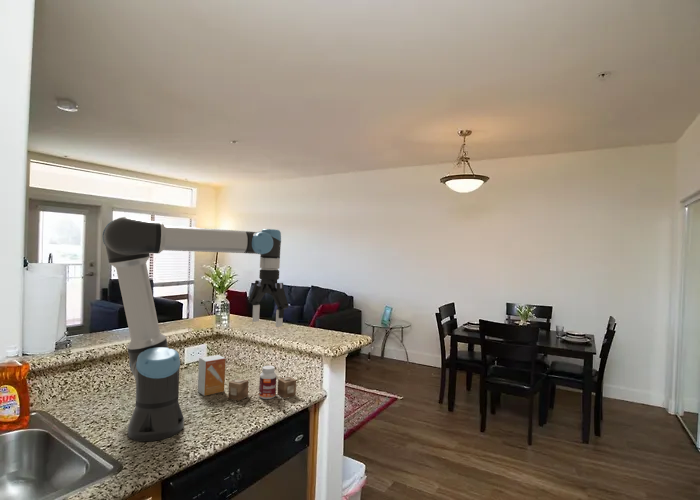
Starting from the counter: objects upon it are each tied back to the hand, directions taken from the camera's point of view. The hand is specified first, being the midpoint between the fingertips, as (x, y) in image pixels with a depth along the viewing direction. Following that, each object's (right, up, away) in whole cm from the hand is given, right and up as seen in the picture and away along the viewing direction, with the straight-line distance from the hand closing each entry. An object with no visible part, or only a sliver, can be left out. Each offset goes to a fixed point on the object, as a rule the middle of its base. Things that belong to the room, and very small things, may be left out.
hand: (267, 324), depth 152 cm
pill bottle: (+1, -27, -4) cm, 27 cm away
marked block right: (+8, -27, -2) cm, 28 cm away
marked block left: (-9, -26, -6) cm, 28 cm away
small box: (-21, -26, -1) cm, 34 cm away
